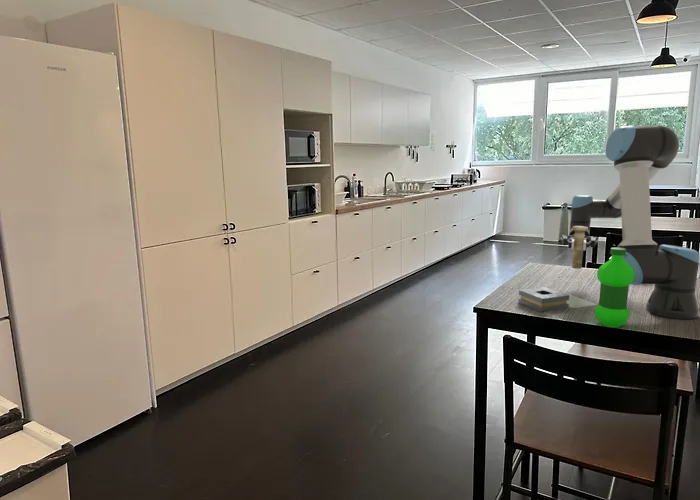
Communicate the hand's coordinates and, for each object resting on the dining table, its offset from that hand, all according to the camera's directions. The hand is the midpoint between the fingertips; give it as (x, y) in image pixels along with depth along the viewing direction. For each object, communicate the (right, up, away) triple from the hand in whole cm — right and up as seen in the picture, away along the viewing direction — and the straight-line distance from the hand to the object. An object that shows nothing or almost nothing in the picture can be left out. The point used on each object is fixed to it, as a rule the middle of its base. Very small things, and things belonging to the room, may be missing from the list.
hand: (578, 246), depth 172 cm
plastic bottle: (+3, -26, -16) cm, 30 cm away
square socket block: (-11, -22, +4) cm, 25 cm away
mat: (+1, -21, +8) cm, 22 cm away
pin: (+2, -8, +7) cm, 11 cm away
